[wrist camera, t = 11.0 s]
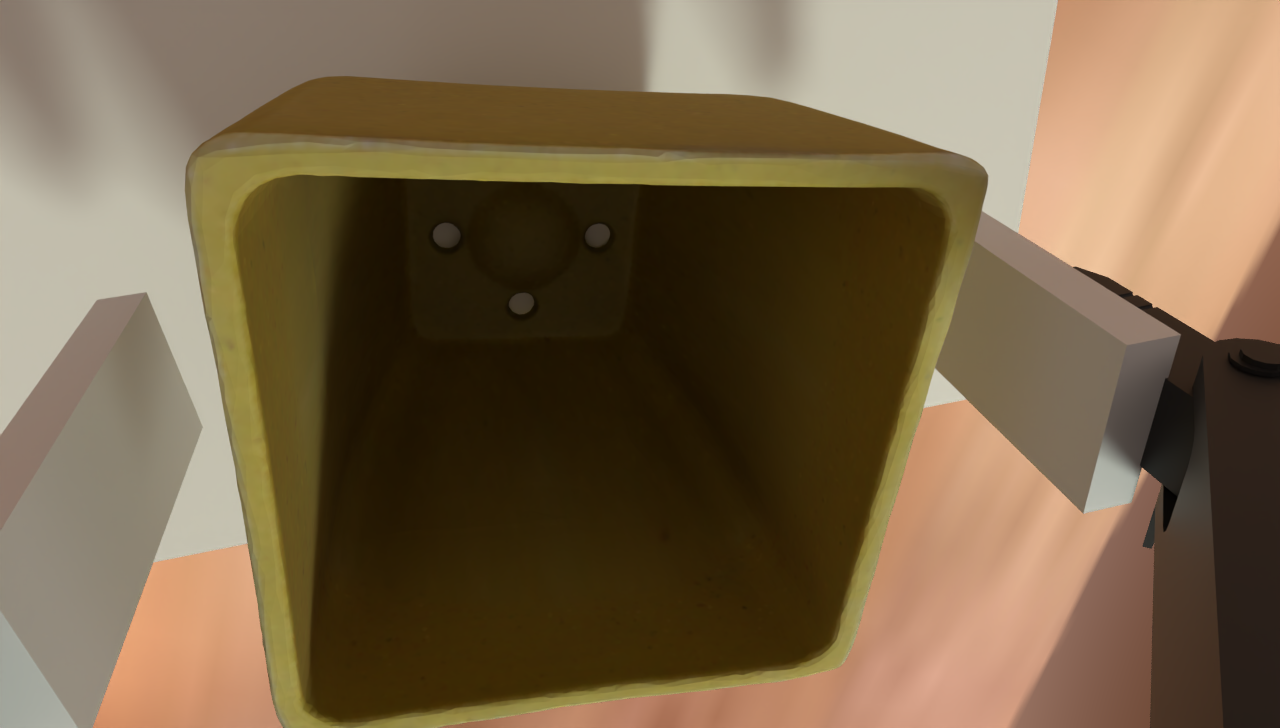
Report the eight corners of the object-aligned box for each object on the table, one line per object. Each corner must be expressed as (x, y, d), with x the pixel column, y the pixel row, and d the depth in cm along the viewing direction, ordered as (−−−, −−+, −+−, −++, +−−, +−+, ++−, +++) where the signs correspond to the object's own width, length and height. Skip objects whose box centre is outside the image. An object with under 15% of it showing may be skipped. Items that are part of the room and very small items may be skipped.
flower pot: (753, 27, 17) (1013, 161, 10) (698, 393, 22) (849, 681, 14) (289, -5, 15) (170, 134, 8) (330, 408, 20) (277, 755, 12)
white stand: (919, 328, 27) (990, 394, 24) (116, 476, 24) (67, 579, 20) (978, -196, 20) (1093, -206, 17) (-174, -98, 16) (-325, -84, 13)
